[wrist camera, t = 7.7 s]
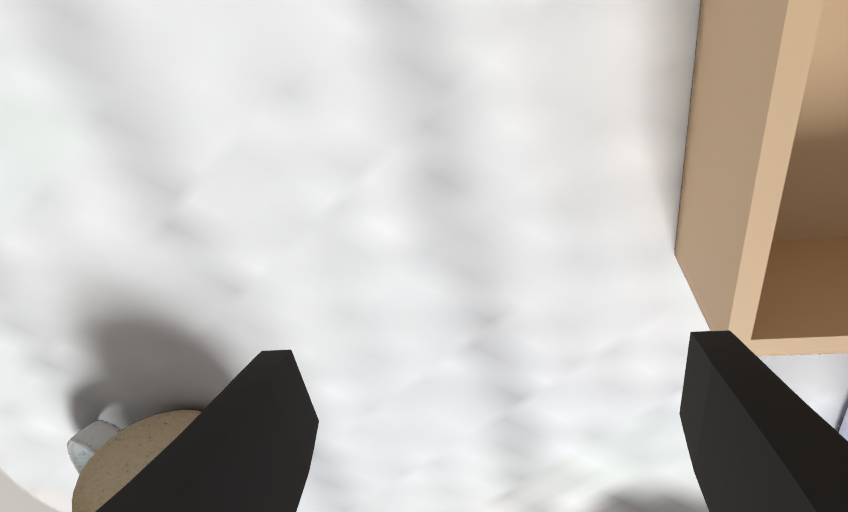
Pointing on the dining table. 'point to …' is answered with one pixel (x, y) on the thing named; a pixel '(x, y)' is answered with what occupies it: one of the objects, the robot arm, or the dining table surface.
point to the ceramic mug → (119, 454)
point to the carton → (769, 174)
